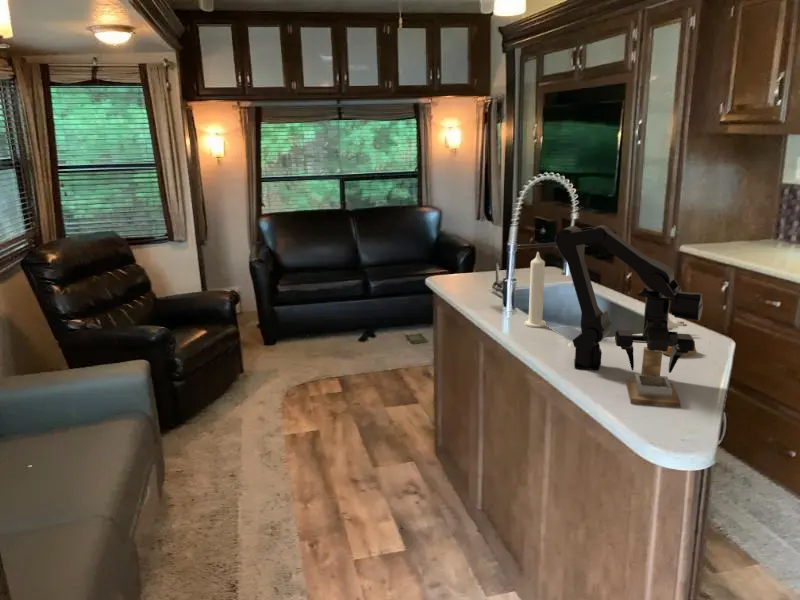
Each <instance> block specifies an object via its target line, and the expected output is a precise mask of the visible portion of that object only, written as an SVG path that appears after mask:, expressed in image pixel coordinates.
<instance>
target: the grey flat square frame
mask: <svg viewBox="0 0 800 600" xmlns="http://www.w3.org/2000/svg"><path fill="white" fill-rule="evenodd" d="M634 380H635V381H634V384H635V388H636V391H637V395H638V396H649V397H661V398H671V396H672V387H671V384H670V383H671V382H670V379H669V378H668V376H664V375H660V376H653V375H641V374H637V373H636V374H634Z"/></svg>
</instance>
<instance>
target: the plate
mask: <svg viewBox="0 0 800 600" xmlns="http://www.w3.org/2000/svg"><path fill="white" fill-rule="evenodd" d="M634 381H635V379H626V382H625V385H626V389H627V394H628V398H629V402H630V404H632V405H633V404H634V405H635V404H636V405H646V406H647V405H648V406H657V407H658V406H659V407H668V408H669V407H671V408H681V401H680V400H681V399H680V398H679V396H678V394H677V392H676V389H675V386H674V384H673V382H670V384H671V387H672V396H671V398H661V397H649V396H638V395H637V391H636V388H635V384H634Z"/></svg>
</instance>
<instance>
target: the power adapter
mask: <svg viewBox="0 0 800 600" xmlns="http://www.w3.org/2000/svg"><path fill="white" fill-rule="evenodd" d="M687 326H688V324H686V323H685V322H684V321H677V320H676V319H671V318H670V317H669V316H668V326H667V327H668V331H670V329H678V328H679V327H687Z"/></svg>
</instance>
